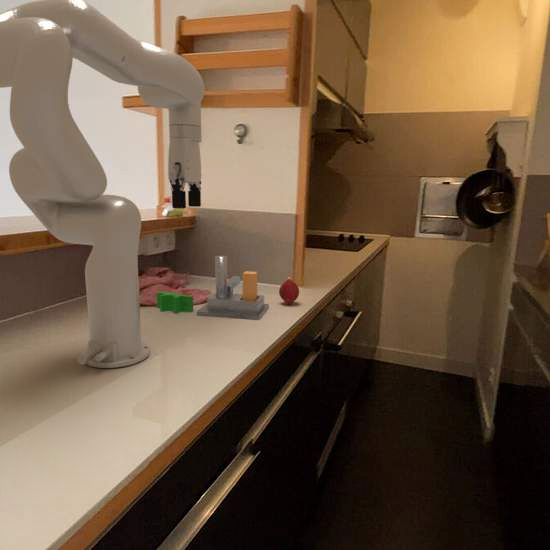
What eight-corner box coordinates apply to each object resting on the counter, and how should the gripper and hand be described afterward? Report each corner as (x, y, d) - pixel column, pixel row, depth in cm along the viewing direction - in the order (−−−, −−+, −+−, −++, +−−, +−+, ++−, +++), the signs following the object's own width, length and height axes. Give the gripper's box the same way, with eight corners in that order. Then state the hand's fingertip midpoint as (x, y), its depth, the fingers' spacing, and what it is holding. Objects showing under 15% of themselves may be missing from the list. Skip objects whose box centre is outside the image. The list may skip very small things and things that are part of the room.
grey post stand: (258, 319, 110) (259, 262, 107) (196, 315, 114) (195, 259, 111) (275, 299, 131) (275, 250, 128) (221, 295, 134) (221, 248, 131)
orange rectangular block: (242, 309, 116) (242, 273, 114) (245, 306, 119) (245, 271, 117) (254, 310, 115) (254, 274, 113) (257, 307, 118) (257, 271, 116)
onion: (302, 303, 127) (303, 277, 125) (292, 307, 122) (292, 280, 120) (285, 300, 130) (286, 274, 128) (275, 304, 125) (275, 277, 124)
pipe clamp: (151, 310, 118) (150, 294, 117) (159, 307, 121) (159, 291, 121) (185, 315, 114) (185, 298, 113) (193, 311, 117) (193, 295, 116)
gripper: (185, 139, 112) (186, 205, 115) (154, 130, 95) (157, 208, 99) (212, 138, 110) (213, 206, 114) (186, 130, 94) (187, 209, 97)
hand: (187, 207), depth 106 cm, fingers open, 9 cm apart
